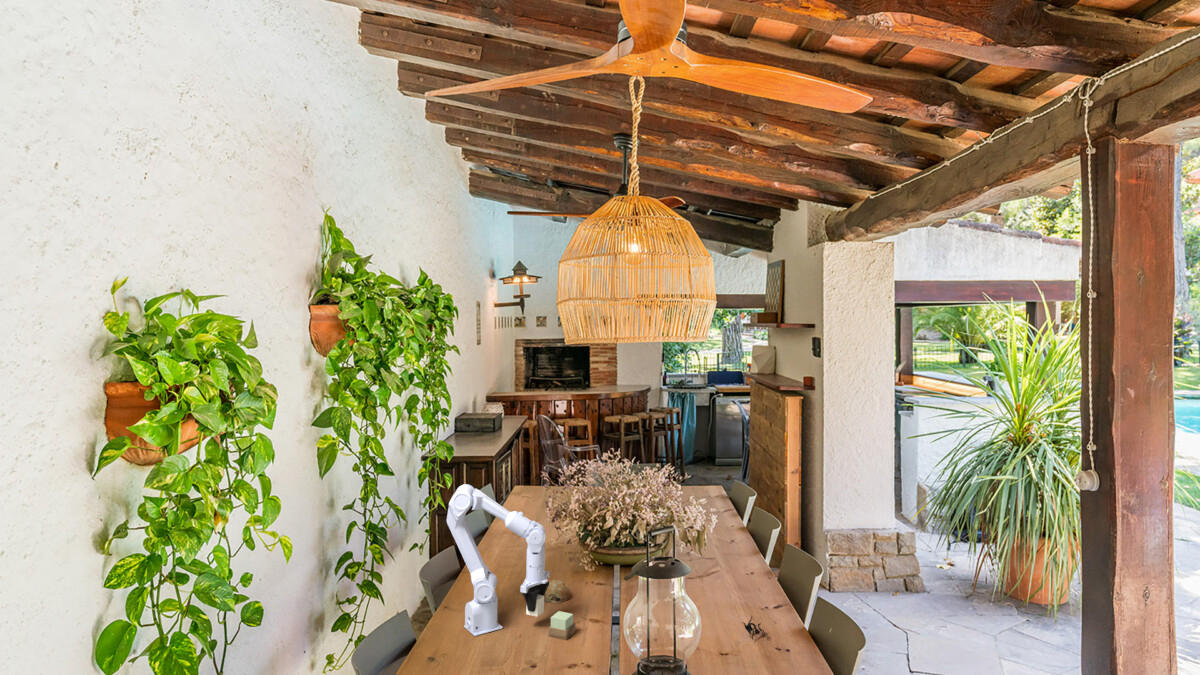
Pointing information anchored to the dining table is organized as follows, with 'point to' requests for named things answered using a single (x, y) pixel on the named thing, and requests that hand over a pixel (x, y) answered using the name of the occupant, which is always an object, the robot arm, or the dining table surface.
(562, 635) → the tower base
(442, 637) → the dining table surface
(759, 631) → the creature
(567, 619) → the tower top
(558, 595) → the brown rounded lump
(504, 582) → the dining table surface
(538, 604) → the white block
